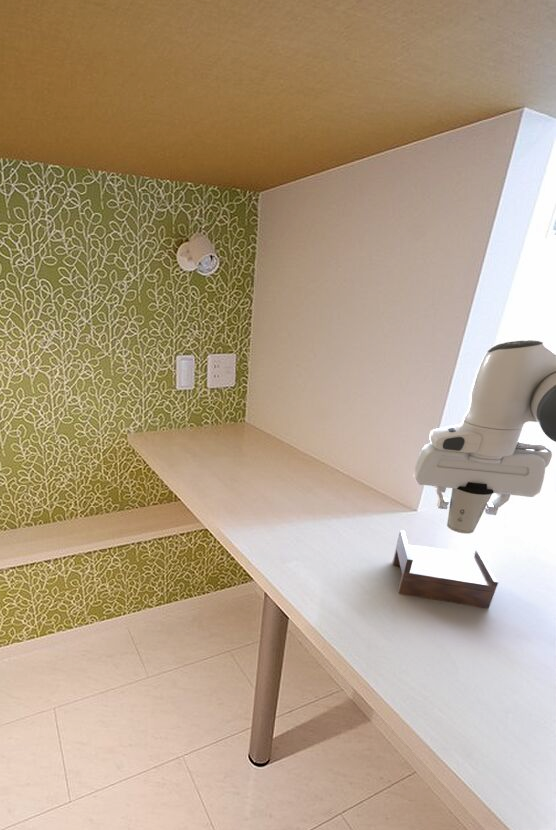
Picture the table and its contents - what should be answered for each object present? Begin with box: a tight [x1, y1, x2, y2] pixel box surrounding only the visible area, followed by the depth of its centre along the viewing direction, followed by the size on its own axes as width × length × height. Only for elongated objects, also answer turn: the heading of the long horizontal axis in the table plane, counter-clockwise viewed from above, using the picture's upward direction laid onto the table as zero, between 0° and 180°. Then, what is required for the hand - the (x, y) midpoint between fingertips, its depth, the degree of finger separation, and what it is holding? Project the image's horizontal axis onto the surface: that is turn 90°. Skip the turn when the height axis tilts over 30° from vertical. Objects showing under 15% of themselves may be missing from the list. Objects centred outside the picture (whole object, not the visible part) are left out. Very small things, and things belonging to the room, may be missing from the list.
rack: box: [392, 530, 499, 609], centre depth 88 cm, size 16×12×8 cm
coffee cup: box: [446, 482, 495, 535], centre depth 81 cm, size 7×7×10 cm
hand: (465, 510), depth 82 cm, fingers closed on coffee cup, 7 cm apart
